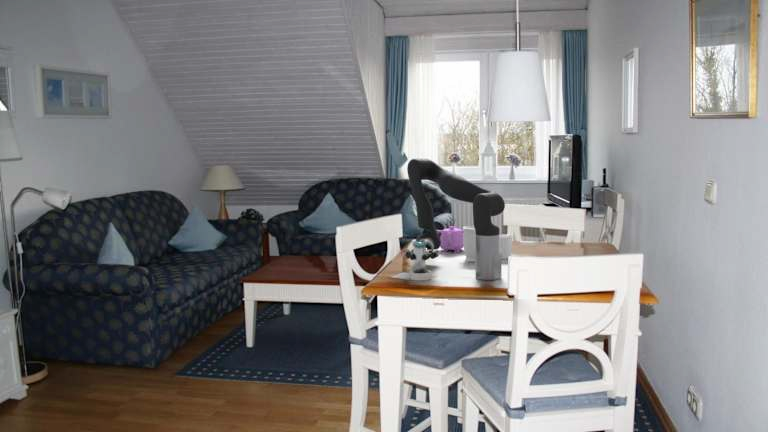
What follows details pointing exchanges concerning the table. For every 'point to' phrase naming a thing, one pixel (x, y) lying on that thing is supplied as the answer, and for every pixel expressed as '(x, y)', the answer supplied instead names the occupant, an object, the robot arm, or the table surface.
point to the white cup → (505, 245)
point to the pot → (451, 239)
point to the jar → (469, 243)
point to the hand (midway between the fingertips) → (418, 257)
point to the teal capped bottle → (419, 256)
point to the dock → (415, 276)
